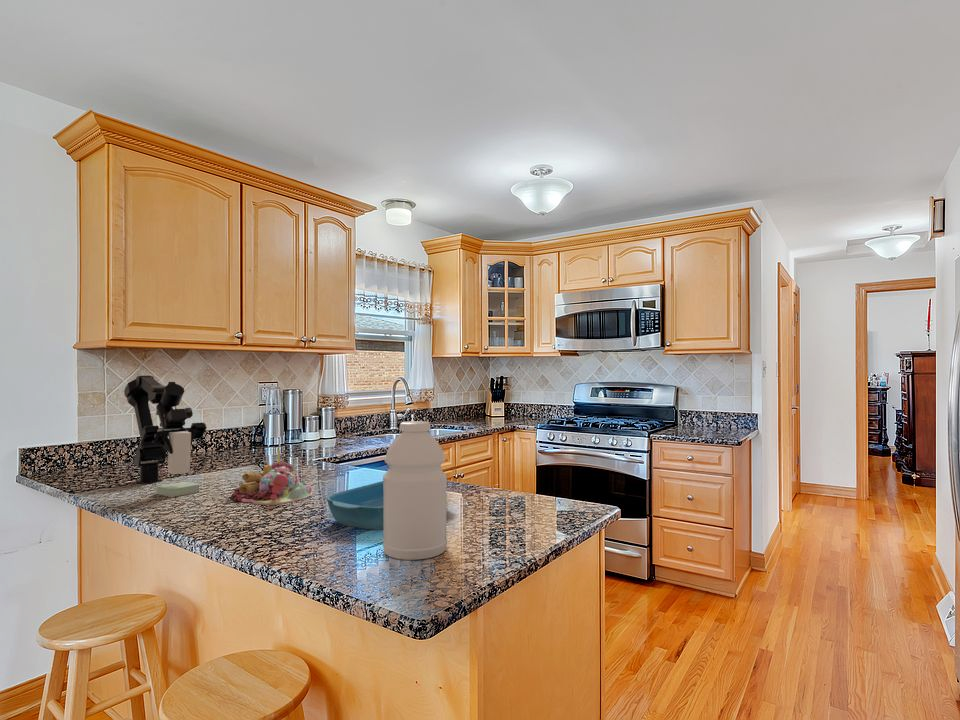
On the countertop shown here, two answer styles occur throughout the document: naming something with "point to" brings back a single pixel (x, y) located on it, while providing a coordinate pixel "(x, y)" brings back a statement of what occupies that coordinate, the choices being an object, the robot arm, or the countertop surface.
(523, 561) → the countertop surface
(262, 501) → the candy landscape model
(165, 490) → the trivet
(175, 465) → the cream block
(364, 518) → the casserole dish
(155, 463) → the robot arm
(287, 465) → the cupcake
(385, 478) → the bottle
